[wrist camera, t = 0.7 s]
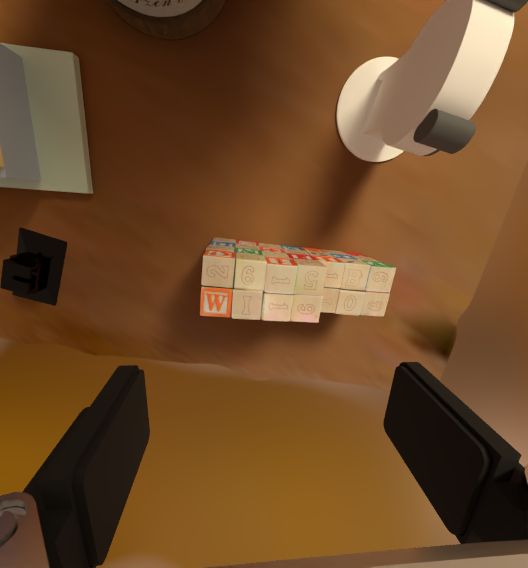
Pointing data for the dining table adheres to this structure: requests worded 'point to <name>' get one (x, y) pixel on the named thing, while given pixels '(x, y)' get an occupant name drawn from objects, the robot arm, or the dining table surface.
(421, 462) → the robot arm
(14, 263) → the black piece
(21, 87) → the slate-blue long brick
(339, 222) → the dining table surface
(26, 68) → the green plate
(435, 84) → the white desk lamp
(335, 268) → the stack of blocks
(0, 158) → the mustard brick
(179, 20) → the wooden container
